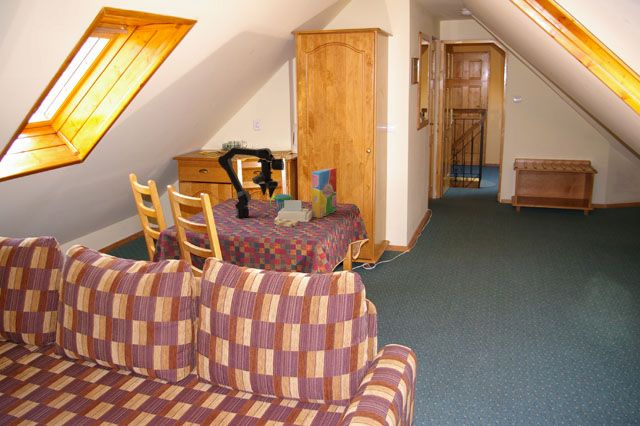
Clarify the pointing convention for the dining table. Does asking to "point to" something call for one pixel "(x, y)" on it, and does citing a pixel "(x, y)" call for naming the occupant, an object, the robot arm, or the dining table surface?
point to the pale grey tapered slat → (292, 205)
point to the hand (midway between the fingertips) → (267, 196)
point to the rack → (295, 215)
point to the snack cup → (280, 200)
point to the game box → (324, 192)
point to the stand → (286, 222)
